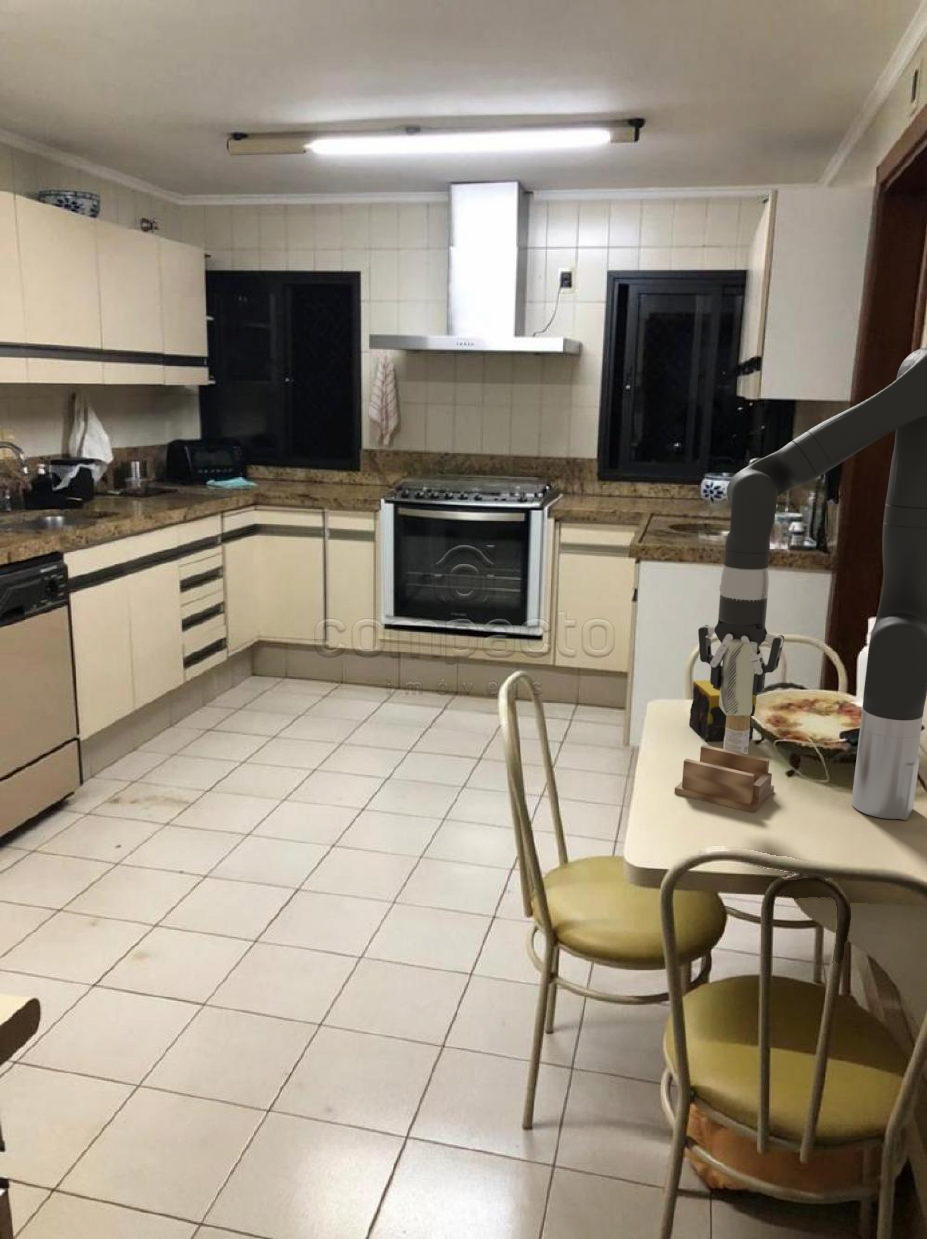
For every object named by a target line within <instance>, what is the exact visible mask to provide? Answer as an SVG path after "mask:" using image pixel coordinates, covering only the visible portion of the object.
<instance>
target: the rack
mask: <svg viewBox="0 0 927 1239" xmlns="http://www.w3.org/2000/svg"><path fill="white" fill-rule="evenodd" d="M699 754H700V756H699V761H698V760H694V759H690V758H685V759H684V760H683V766H682V767H683V768H682V769H683V770H682V781H681V782H680V783H678V784H677V785H676V786H675V787H674V792H673V793H674V794H675V795H676V794H677V795H681V796H685V797H688V798H689V797H690V798H693V799H697V800H701V801H704V802H708V803H712V804H717V805H721V806H725V807H729V808H732V809H736V810H740V811H744V812H749V813H753V814H755V812H756V811H758V809H759V808H760V807H761V806H762V805H763V804H764V802H766V800H767V799H768V798H769V797H770V796H771V795H772V794H773V792H774V791H775V785H772V779H773V778H772V776H773V774H772V773H771V772H769V768H770V758H765V757H760V756H756V755H753V754H752V755H751V754H748V755H747V754H743V753H738V752H734V751H729V750H725V749H723V748H720V747H714V746H710V745H706V744H703V745H701V746H700V753H699Z"/></svg>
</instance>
